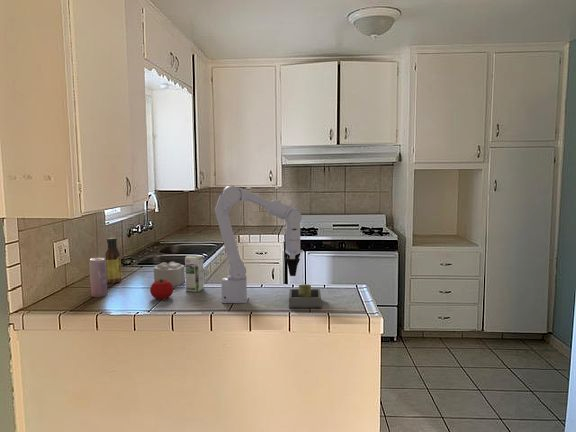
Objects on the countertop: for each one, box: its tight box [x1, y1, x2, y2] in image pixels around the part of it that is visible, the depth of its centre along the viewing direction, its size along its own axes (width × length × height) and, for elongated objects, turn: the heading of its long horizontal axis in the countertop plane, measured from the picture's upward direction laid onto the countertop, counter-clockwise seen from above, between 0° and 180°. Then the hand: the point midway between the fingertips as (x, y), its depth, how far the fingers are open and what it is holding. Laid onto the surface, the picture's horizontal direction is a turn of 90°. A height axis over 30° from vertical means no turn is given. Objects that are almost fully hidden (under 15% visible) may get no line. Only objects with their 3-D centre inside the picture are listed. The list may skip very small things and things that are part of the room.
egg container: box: [153, 261, 186, 287], centre depth 194 cm, size 10×13×9 cm
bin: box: [288, 288, 322, 310], centre depth 162 cm, size 12×12×4 cm
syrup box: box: [184, 254, 205, 293], centre depth 181 cm, size 6×6×14 cm
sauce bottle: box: [105, 237, 123, 284], centre depth 195 cm, size 7×6×20 cm
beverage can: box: [88, 257, 108, 298], centre depth 174 cm, size 6×6×15 cm
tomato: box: [149, 279, 174, 301], centre depth 170 cm, size 9×9×8 cm
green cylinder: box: [298, 283, 312, 297], centre depth 162 cm, size 5×5×6 cm
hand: (293, 273), depth 170 cm, fingers open, 7 cm apart
